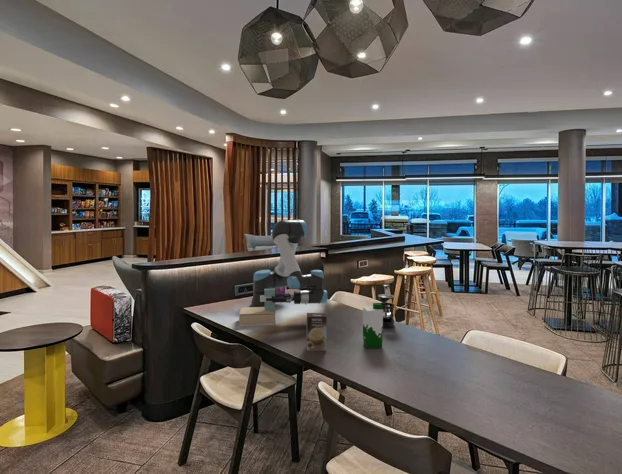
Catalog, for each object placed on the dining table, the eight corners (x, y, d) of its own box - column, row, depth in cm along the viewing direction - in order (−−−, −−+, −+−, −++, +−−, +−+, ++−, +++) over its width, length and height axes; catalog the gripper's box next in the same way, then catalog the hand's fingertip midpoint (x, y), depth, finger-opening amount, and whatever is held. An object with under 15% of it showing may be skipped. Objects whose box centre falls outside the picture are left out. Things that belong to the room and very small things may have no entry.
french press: (399, 326, 201) (399, 285, 200) (387, 329, 196) (388, 287, 194) (382, 321, 211) (383, 282, 209) (371, 324, 205) (371, 284, 203)
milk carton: (384, 348, 169) (385, 306, 167) (365, 349, 168) (365, 306, 167) (379, 341, 177) (379, 301, 176) (361, 342, 177) (361, 301, 175)
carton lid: (274, 307, 218) (274, 286, 218) (275, 313, 205) (275, 291, 204) (240, 308, 216) (240, 287, 215) (239, 315, 202) (238, 292, 201)
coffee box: (306, 351, 166) (306, 316, 165) (306, 346, 172) (306, 312, 171) (326, 351, 166) (326, 316, 165) (325, 345, 172) (325, 312, 171)
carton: (274, 317, 219) (274, 307, 218) (275, 324, 205) (275, 314, 205) (241, 318, 216) (240, 308, 216) (239, 326, 203) (239, 315, 202)
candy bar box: (271, 295, 278) (270, 274, 277) (272, 293, 283) (272, 272, 282) (285, 295, 277) (285, 274, 276) (286, 294, 282) (286, 273, 281)
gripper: (302, 307, 205) (259, 308, 202) (299, 300, 221) (260, 301, 218) (302, 294, 205) (259, 295, 202) (299, 288, 221) (260, 289, 218)
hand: (260, 298), depth 210 cm, fingers closed on carton lid, 3 cm apart
